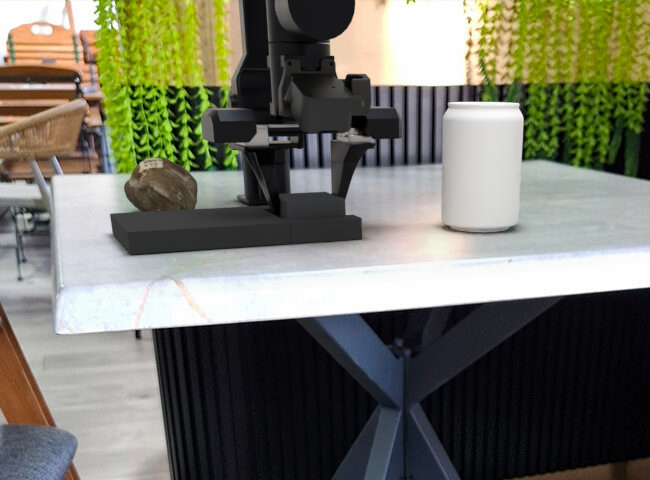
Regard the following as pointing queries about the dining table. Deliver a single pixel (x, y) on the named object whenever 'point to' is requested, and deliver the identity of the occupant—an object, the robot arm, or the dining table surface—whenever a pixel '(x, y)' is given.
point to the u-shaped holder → (225, 229)
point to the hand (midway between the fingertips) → (307, 216)
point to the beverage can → (481, 165)
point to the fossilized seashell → (161, 186)
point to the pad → (311, 205)
